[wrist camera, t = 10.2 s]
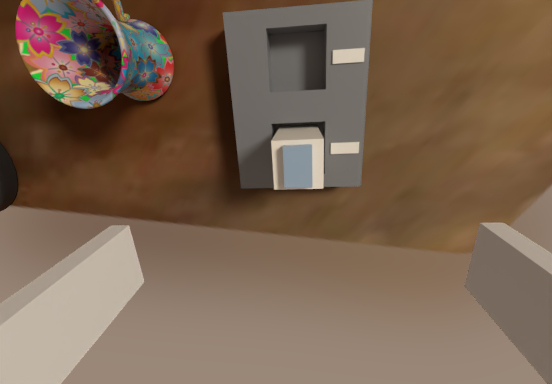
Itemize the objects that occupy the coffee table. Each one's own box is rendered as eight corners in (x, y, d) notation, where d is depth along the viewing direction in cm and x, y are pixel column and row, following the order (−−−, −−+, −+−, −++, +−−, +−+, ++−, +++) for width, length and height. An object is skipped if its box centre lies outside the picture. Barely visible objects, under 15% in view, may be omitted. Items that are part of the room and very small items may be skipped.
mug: (178, 111, 33) (125, 119, 23) (106, 95, 33) (23, 96, 23) (185, -2, 29) (124, -52, 19) (102, -20, 29) (-2, -79, 19)
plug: (281, 162, 33) (273, 192, 23) (279, 126, 32) (270, 142, 22) (316, 161, 33) (324, 191, 23) (316, 124, 31) (324, 140, 21)
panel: (247, 178, 35) (240, 189, 31) (232, 22, 29) (222, 12, 25) (354, 175, 34) (361, 186, 30) (362, 12, 28) (373, -2, 24)
